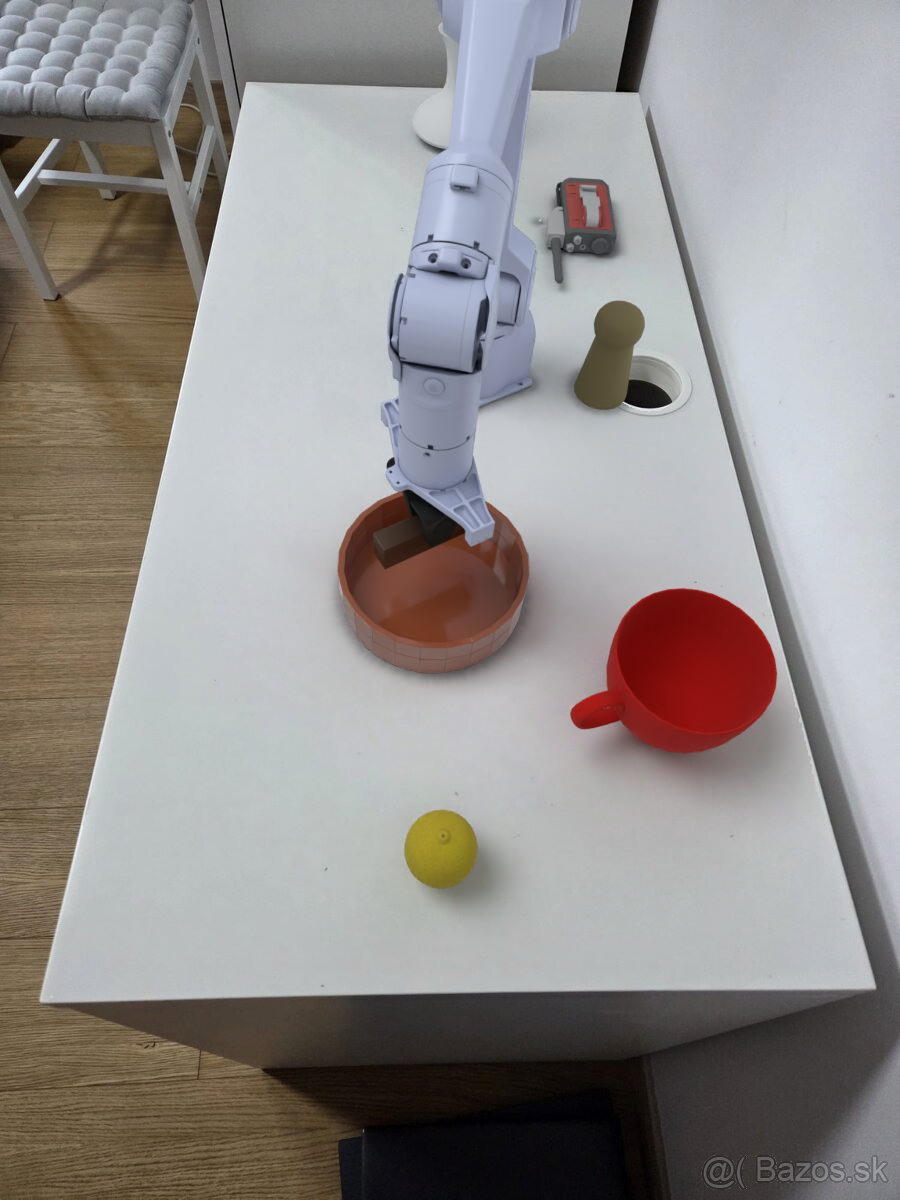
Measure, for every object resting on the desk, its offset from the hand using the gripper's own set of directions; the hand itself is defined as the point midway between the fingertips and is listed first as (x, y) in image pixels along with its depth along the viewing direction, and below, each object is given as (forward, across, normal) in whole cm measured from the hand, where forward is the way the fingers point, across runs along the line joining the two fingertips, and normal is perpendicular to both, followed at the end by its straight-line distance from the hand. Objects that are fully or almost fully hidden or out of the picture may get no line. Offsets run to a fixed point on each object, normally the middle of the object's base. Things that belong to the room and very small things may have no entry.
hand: (431, 529), depth 71 cm
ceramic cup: (+8, +21, +10) cm, 25 cm away
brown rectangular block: (+1, 0, 0) cm, 1 cm away
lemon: (+8, +23, -12) cm, 28 cm away
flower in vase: (+8, -64, +41) cm, 76 cm away
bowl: (+8, +1, 0) cm, 8 cm away
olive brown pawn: (+8, -13, +30) cm, 33 cm away
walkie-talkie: (+8, -36, +43) cm, 56 cm away
